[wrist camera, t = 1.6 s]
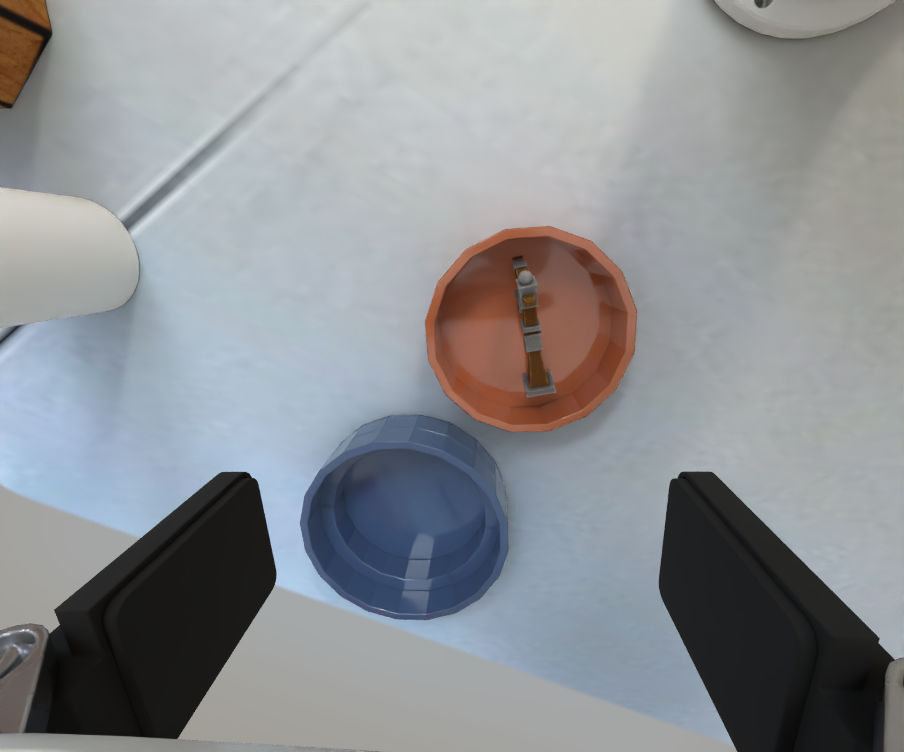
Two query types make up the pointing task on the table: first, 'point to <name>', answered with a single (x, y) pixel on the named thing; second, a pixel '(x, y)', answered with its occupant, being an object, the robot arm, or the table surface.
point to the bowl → (407, 519)
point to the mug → (20, 44)
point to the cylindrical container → (61, 258)
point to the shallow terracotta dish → (501, 337)
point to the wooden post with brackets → (531, 331)
